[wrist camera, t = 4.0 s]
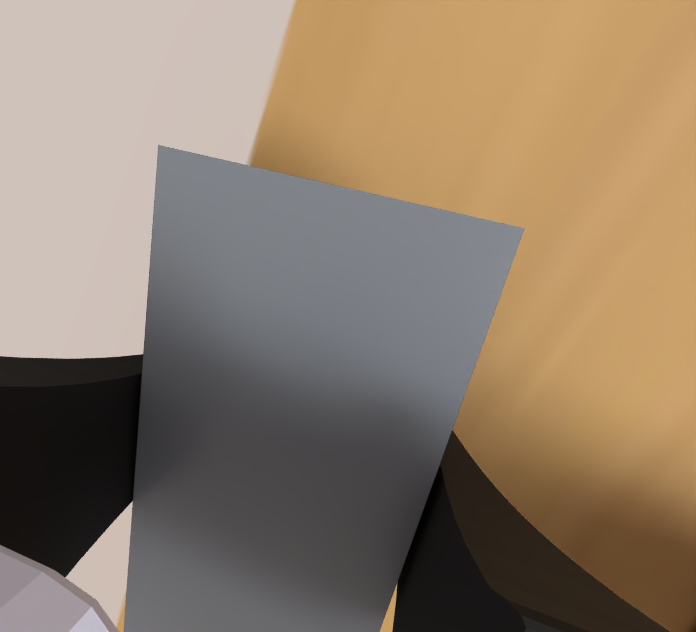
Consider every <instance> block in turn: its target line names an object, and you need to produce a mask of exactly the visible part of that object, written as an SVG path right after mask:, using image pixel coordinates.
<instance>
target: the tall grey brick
mask: <svg viewBox="0 0 696 632" xmlns="http://www.w3.org/2000/svg"><path fill="white" fill-rule="evenodd" d="M523 231H524V228H520V227H515V226H511V225H507V224H502V223H498V222H494V221H489V220H485V219H480V218H476V217H472V216H467V215H463V214H458V213H454V212H450V211H445V210H441V209H436V208H432V207H428V206H423V205H419V204H415V203H410V202H406V201H401V200H397V199H393V198H388V197H384V196H379V195H375V194H371V193H366V192H362V191H358V190H353V189H349V188H344V187H340V186H336V185H331V184H327V183H322V182H318V181H314V180H309V179H305V178H300V177H296V176H292V175H287V174H283V173H279V172H274V171H270V170H265V169H261V168H257V167H252V166H248V165H243V164H239V163H235V162H230V161H226V160H222V159H217V158H213V157H208V156H204V155H200V154H195V153H191V152H186V151H182V150H178V149H173V148H169V147H164V146H160V145H158V158H157V173H156V186H155V200H154V215H153V228H152V242H151V257H150V270H149V285H148V298H147V312H146V326H145V341H144V354H143V368H142V382H141V396H140V410H139V424H138V438H137V452H136V466H135V480H134V494H133V508H132V522H131V536H130V551H129V565H128V578H127V592H126V606H125V620H124V632H380V629H381V626H382V623H383V620H384V618H385V615H386V612H387V609H388V607H389V604H390V601H391V598H392V595H393V593H394V590H395V587H396V584H397V582H398V579H399V576H400V573H401V570H402V568H403V565H404V562H405V559H406V557H407V554H408V551H409V548H410V545H411V543H412V540H413V537H414V534H415V532H416V529H417V526H418V523H419V520H420V518H421V515H422V512H423V509H424V507H425V504H426V501H427V498H428V495H429V493H430V490H431V487H432V484H433V481H434V479H435V476H436V473H437V470H438V468H439V465H440V462H441V459H442V456H443V454H444V451H445V448H446V445H447V443H448V440H449V437H450V434H451V431H452V429H453V426H454V423H455V420H456V418H457V415H458V412H459V409H460V406H461V404H462V401H463V398H464V395H465V393H466V390H467V387H468V384H469V381H470V379H471V376H472V373H473V370H474V368H475V365H476V362H477V359H478V356H479V354H480V351H481V348H482V345H483V343H484V340H485V337H486V334H487V331H488V329H489V326H490V323H491V320H492V318H493V315H494V312H495V309H496V306H497V304H498V301H499V298H500V295H501V293H502V290H503V287H504V284H505V281H506V279H507V276H508V273H509V270H510V268H511V265H512V262H513V259H514V256H515V254H516V251H517V248H518V245H519V242H520V240H521V237H522V234H523Z"/></svg>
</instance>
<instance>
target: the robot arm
mask: <svg viewBox="0 0 696 632" xmlns="http://www.w3.org/2000/svg"><path fill="white" fill-rule="evenodd" d="M142 368H143V354H142V355H132V356H122V357H108V358H85V359H53V358H17V357H2V356H0V632H119V631H118V630H117V628H116V627H115V625H114V624H113V623H112V621H111V620H110V618H109V617H108V615H107V614H106V613H105V611H104V610H103V609H102V607H101V606H100V604H99V603H98V601H97V600H96V599H94V598H93V597H91V596H90V595H89V594H87V593H86V592H84V591H83V590H82V589H80V588H79V587H77V586H76V585H75V584H73V583H72V582H70V581H69V580H68V579H66V578H65V577H66V576H67V575H68V574H69V572H70V571H71V570H72V569H73V567H74V566H75V565H76V564H77V562H78V561H79V560H80V559H81V558H82V557H83V556H84V554H85V553H86V552H87V551H88V550H89V549H90V547H91V546H92V545H93V544H94V543H95V542H96V541H97V539H98V538H99V537H100V536H101V535H102V534H103V533H104V532H105V530H106V529H107V528H108V527H109V526H110V525H111V524H112V523H113V521H114V520H115V519H116V518H117V517H118V516H119V515H120V514H121V513H122V512H123V511H124V509H125V508H126V507H127V506H128V505H129V504H130V503H131V502H132V501H133V494H134V480H135V466H136V452H137V438H138V424H139V410H140V396H141V382H142ZM393 632H669V631H668V630H666V629H665V628H663V627H662V626H660V625H659V624H658V623H656V622H655V621H653V620H652V619H650V618H649V617H647V616H646V615H644V614H643V613H641V612H640V611H639V610H637V609H636V608H634V607H633V606H631V605H630V604H628V603H627V602H625V601H624V600H623V599H621V598H620V597H619V596H617V595H616V594H615V593H613V592H612V591H611V590H609V589H608V588H607V587H606V586H604V585H603V584H602V583H600V582H599V581H598V580H596V579H595V578H594V577H592V576H591V575H590V574H589V573H587V572H586V571H585V570H583V569H582V568H581V567H580V566H578V565H577V564H576V563H575V562H574V561H572V560H571V559H570V558H569V557H567V556H566V555H565V554H564V553H563V552H561V551H560V550H559V549H558V548H557V547H556V546H555V545H554V544H552V543H551V542H550V541H549V540H548V539H547V538H546V537H544V536H543V535H542V534H541V533H540V532H539V531H538V530H537V529H536V528H534V527H533V526H532V525H531V524H530V523H529V522H528V521H527V520H526V519H525V518H524V517H523V516H522V515H521V514H520V513H519V512H518V511H517V510H516V509H515V508H514V507H513V506H512V505H511V504H510V503H509V502H508V501H507V500H506V499H505V497H504V496H503V495H502V494H501V493H500V492H499V491H498V490H497V489H496V487H495V486H494V485H493V484H492V483H491V481H490V480H489V479H488V478H487V477H486V475H485V474H484V473H483V472H482V471H481V469H480V468H479V467H478V465H477V464H476V463H475V461H474V460H473V459H472V457H471V456H470V455H469V453H468V452H467V451H466V449H465V448H464V446H463V445H462V443H461V442H460V441H459V439H458V438H457V436H456V435H455V433H454V432H453V430H452V431H451V434H450V437H449V440H448V443H447V445H446V448H445V451H444V454H443V456H442V459H441V462H440V465H439V468H438V470H437V473H436V476H435V479H434V481H433V484H432V487H431V490H430V493H429V495H428V498H427V501H426V504H425V507H424V509H423V512H422V515H421V518H420V520H419V523H418V526H417V529H416V532H415V534H414V537H413V540H412V543H411V545H410V548H409V551H408V554H407V557H406V559H405V562H404V565H403V568H402V570H401V573H400V576H399V579H398V583H397V597H396V607H395V615H394V623H393Z"/></svg>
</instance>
